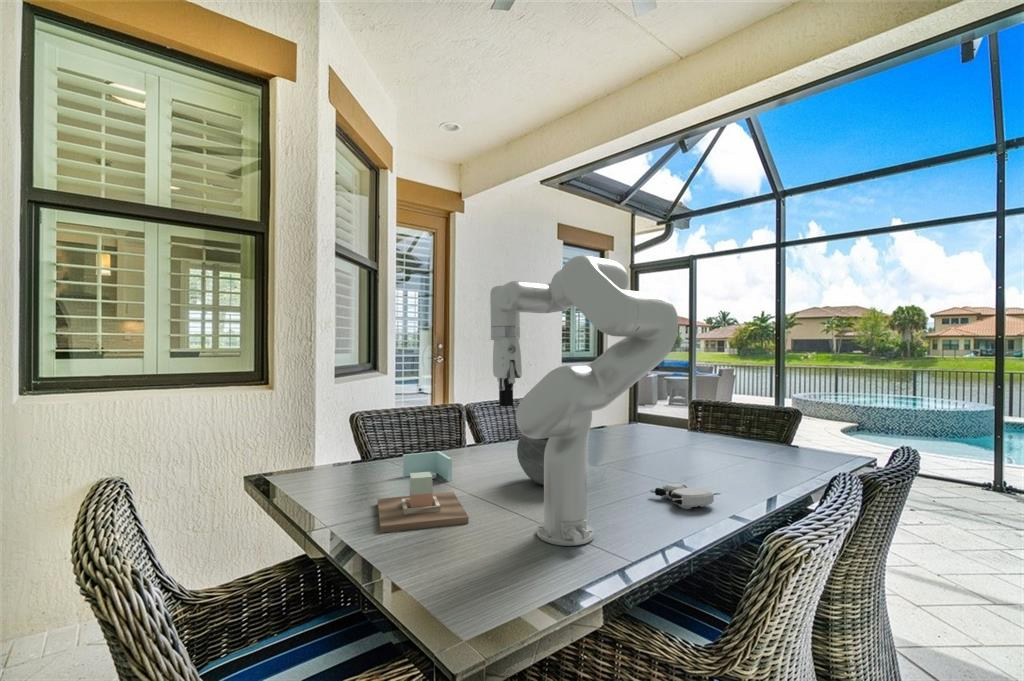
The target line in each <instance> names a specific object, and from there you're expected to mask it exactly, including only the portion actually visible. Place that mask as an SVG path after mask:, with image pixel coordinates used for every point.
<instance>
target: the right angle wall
mask: <svg viewBox="0 0 1024 681" xmlns="http://www.w3.org/2000/svg"><path fill="white" fill-rule="evenodd" d="M452 462H453V459H452V458H451V457H449V455H446V454H445V453H443V452H441V451H439V450H438V451H426V452H418V453H417V452H416V453H408V454H406V453H405V454H402V478H406V477H405V476H410V473H419V472H430V473H431V475H432V479H433V480H434V479H435V480H436V478H437V475H438V474H439V475H438V476H440V477H441V476H442V477H443V479H444V480H445V479H446V480H445V481H446V482H448V483H450V482H449V481H451V482H452V478H453V477H452V476H453V475H452V474H453V467H452V466H453V464H452ZM437 473H438V474H437ZM442 477H441V478H442Z"/></svg>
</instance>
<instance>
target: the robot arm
mask: <svg viewBox="0 0 1024 681" xmlns="http://www.w3.org/2000/svg"><path fill="white" fill-rule="evenodd" d="M628 286H629V275H628V272H627V270H626V269H625V268H624V266H623V265H622V264H620V263H619V262H617V261H615V260H613V259H608V258H602V257H597V256H590V255H582V254H581V255H576V256H574V257H571V258H569V259H568V260H567V261H566V262H565V263H564V265H563V266H562V267H561V269H560V270H558V271H557V272H556V273H554V275H553V276H552V278H551V281H550V282H549V283H541V282H533V281H524V280H523V281H522V280H521V281H520V280H512V281H509V282H507V283H505V284H503V285H502V284H501V285H496V286H492V288H491V290H490V293H489V294H490V296H489V297H490V302H489V304H490V340H491V341H493V347H492V373H493V376H494V377H495V378H497V382H498V393H499V394H498V400H499V401H498V403H499V406H500V407H513V406H514V384H515V383H516V379H520V378H522V376H523V375H522V371H523V370H522V366H523V365H522V354H521V353H522V352H521V344H520V340H521V325H520V324H521V320H520V319H521V315H520V314H521V313H529V314H531V313H532V314H550V313H551V314H552V313H557V312H558V313H559V312H564V311H567V310H570V309H572V308H573V307H575V308H577V310H578V311H579V312H580V313H581V314H582V315H583V316H584V317H585V318H586V319H587V320H588V321H589V322H590V323H591V324H592V326H594V328H596V329H597V330H598V331H600V332H601V333H603V334H605V335H607V336H610V337H623V339H620V340H619V341H618V342H615V343H614V344H612V345H611V346H609V347H607V349H606V350H605V351H604V352H603V353H602V354H600V356H598V357H597V358H596V359H594V360H593V361H591V362H589V363H585V364H584V363H583V364H569V365H568V364H567V365H561V366H558V367H556V368H554V369H552V370H551V371H550V372H548V373H546V374H545V375H544V376H543V378H542V379H540V380H539V381H538V382H537V383H536V384H535V385H534V386H533V387H532V388H531V389H530V390H529V391H528V392H526V394H525V395H524V396H523V398H522V399H521V400H520V401H519V404H518V406H517V408H516V412H515V422H516V426H517V428H518V430H519V432H521V434H522V433H523V434H524V435H525V436H527V437H529V438H532V439H543V438H549V439H548V442H547V444H546V448H545V453H544V485H543V522H541V523H540V524H538V526H537V527H536V536H538V538H539V540H542V541H544V542H546V543H547V544H551V545H557V546H564V547H570V546H571V547H572V546H573V547H574V546H575V547H576V546H581V545H584V544H588V543H589V542H591V541H593V539H594V538H595V530H594V528H593V527H592V526H591V525H589V524H588V448H589V446H588V445H589V438H590V431H591V426H592V419H593V412H596V411H600V410H603V409H604V408H606V407H608V406H609V405H611V403H613V402H615V400H616V399H618V398H619V397H620V396H621V395H623V394H624V393H625V392H627V391H628V389H630V388H631V387H633V386H634V385H635V384H636V383H637V382H638V381H640V380H641V379H642V378H643V377H645V376H646V375H647V374H649V373H650V372H651V371H652V370H654V369H655V368H656V367H657V366H659V365H660V364H661V363H662V362H663V361H664V359H666V358H667V356H668V355H669V353H670V352H671V350H672V349H673V347H674V345H675V343H676V340H677V336H678V334H679V316H678V313H677V310H676V308H675V306H674V305H673V303H672V302H671V301H670V300H669V299H667V298H666V297H664V296H662V295H660V294H656V293H651V292H647V291H646V292H645V291H638V290H631V289H630V290H628V289H627V288H628Z"/></svg>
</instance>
